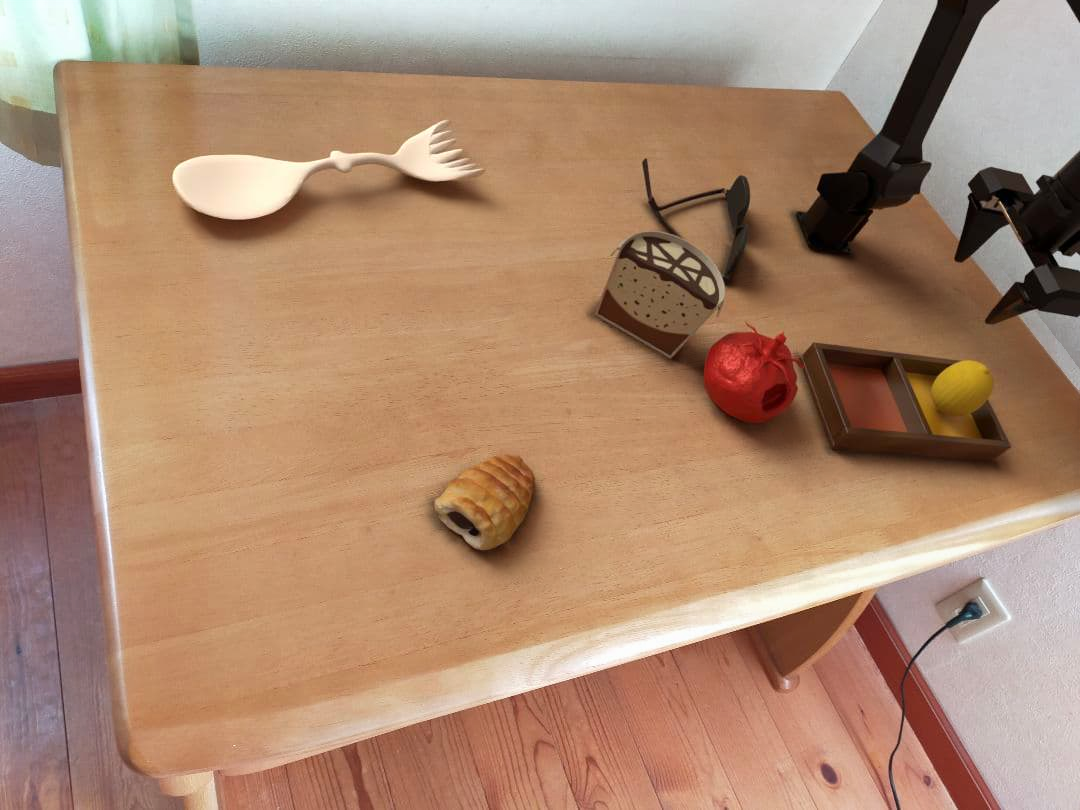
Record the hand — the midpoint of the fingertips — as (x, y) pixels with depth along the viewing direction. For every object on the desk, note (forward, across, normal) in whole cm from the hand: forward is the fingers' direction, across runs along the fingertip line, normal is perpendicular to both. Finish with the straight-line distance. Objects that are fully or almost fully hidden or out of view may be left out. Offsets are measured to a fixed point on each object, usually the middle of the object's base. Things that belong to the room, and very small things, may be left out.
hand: (972, 291), depth 99 cm
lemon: (+10, -10, +1) cm, 14 cm away
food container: (+11, -1, +36) cm, 38 cm away
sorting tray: (+11, -10, +6) cm, 16 cm away
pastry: (+11, -25, +56) cm, 62 cm away
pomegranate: (+11, -10, +27) cm, 31 cm away
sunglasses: (+12, +16, +28) cm, 34 cm away
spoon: (+12, +12, +70) cm, 72 cm away
